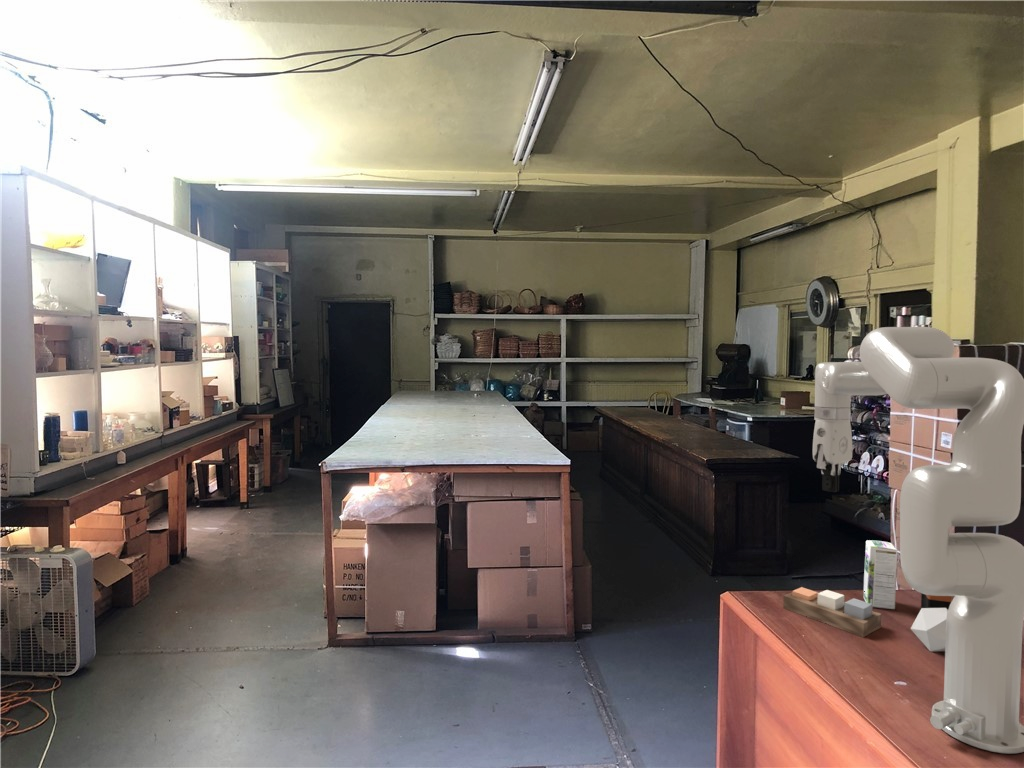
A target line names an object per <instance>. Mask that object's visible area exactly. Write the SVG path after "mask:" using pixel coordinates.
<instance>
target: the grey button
mask: <svg viewBox="0 0 1024 768" xmlns="http://www.w3.org/2000/svg"><path fill="white" fill-rule="evenodd" d="M844 602H845V605H844V613H845V614H847V615H850V616H853V617H856V618H859V619H862V620H866V619H867V618H869V617H871V616H872V611H873V608H874V607H873V604H870V603H867V602H866V601H865V600H861V599H857V598H854V597H853V598H851V599H849V600H847V601H844Z"/></svg>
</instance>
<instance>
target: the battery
mask: <svg viewBox="0 0 1024 768" xmlns="http://www.w3.org/2000/svg"><path fill="white" fill-rule="evenodd" d="M920 597H921V598H920V600H921V601H920V609H921V608H947V609H949V606H950V604H951V602H952V600H953V599H952V597H953V596H933V595H926V594H922V593H921V595H920Z"/></svg>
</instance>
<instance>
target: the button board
mask: <svg viewBox="0 0 1024 768" xmlns="http://www.w3.org/2000/svg"><path fill="white" fill-rule="evenodd" d="M817 599H818V598H816V599H814V600H812V601H807V600H804V599H801V598H798V597H795V596H792V592H789V593H787V594H784V595H783V600H782V601H783V609H785V610H788V611H790V612H793V613H795V614H798V615H802V616H804V617H806V616H807V617H806V618H809V619H812V620H814V619H815V621H817V620H818V621H817V622H820V621H821V623H823V624H825V623H827V624H826V625H828V624H829V626H831V627H834V628H837V629H840V630H842V631H845V632H848V633H850V634H853V635H856V636H858V637H861V638H865V637H866V636H869V635H870V634H871V633H873V632H875V631H878V630H879V629H881V628H882V613H881V612H877V611H874V610H872V616H871V617H869V618H867V619H866V620H862V619H859V618H856V617H853V616H850V615H847V614H845V613H844V607H842V608H840V609H838V610H833V609H830V608H827V607H824V606H821V605H818V604H817ZM845 602H846V601H844V605H845Z"/></svg>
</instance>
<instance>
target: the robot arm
mask: <svg viewBox="0 0 1024 768" xmlns="http://www.w3.org/2000/svg"><path fill="white" fill-rule="evenodd" d="M954 355H955V344H954V341H953V339H952V338H951V336H950V335H948V333H946V332H944V331H943V330H941V329H938V328H934V327H931V326H885V327H878V328H875V329H873V330H871V331H870V332H868V333H867V334H866V335H865V337H864V338H863V340H862V341H861V343H860V348H859V359H860V361H838V362H837V361H836V362H835V361H827V362H826V361H825V362H820V363H819V362H818V364H816V366H815V374H814V375H815V376H814V416H813V417H814V419H813V420H815V423H814V429H813V437H812V438H813V439H812V459H813V460H814V462H816V468H817V469H820V472H821V476H822V478H821V488H822V489H821V490H822V491H825V492H830V493H837V492H839V491H840V475H841V468H842V467H843V465H845V463H847V462H849V461H851V460H852V458H853V436H852V435H853V434H852V425H851V403H852V402H851V397H852V396H885V395H888V396H889V397H890V398H891V399H892V400H893V401H894V402H895V403H897V404H898V405H900V406H902V407H904V408H908V409H913V410H951V409H952V410H953V409H967V410H970V411H969V412H968V413H967V414H966V415H965V416H964V417H963V418H962V420H961V421H960V422H959V424H958V426H957V427H956V429H955V431H954V434H953V437H952V456H951V457H952V458H951V462H950V464H942V465H941V464H930V465H929V464H928V465H921V466H918V467H915V468H914V469H912V470H911V471H909V472H908V474H906V476H905V477H904V480H903V482H902V485H901V488H900V498H899V532H900V533H899V552H900V553H899V556H900V566H901V570H902V574H903V576H904V578H905V581H906V583H908V585H909V586H910V587H911V588H912V589H913V590H915V591H916V592H918V593H922V594H926V595H933V596H952V597H953V599H952V602H951V604H950V606H949V609H948V612H947V619H946V645H945V651H944V681H943V700H939V701H937V702H935V703H934V704H933V705H932V708H931V717H930V718H929V720H930V721H929V722H930V724H931V725H932V726H933V728H935V729H937V730H943V732H945V733H946V734H947V735H949V736H951V737H953V738H954V739H957V740H958V741H960V742H962V743H964V744H967V745H969V746H972V747H975V748H977V749H981V750H985V751H988V752H993V753H999V754H1020V753H1023V752H1024V725H1023V723H1021V722H1020V700H1021V676H1022V674H1021V673H1022V672H1021V671H1022V651H1023V649H1022V648H1023V634H1024V632H1023V630H1024V629H1023V627H1024V545H1023V544H1021V543H1020V542H1018V541H1017V540H1016V539H1014V538H1012V537H1009V536H1007V535H1006V536H1005V535H1002V534H997V533H991V532H956V533H955V532H953V533H951V532H950V531H951V527H997V526H1005V525H1008V524H1011V523H1013V522H1014V521H1015V520H1016V519H1017V518H1018V517H1019V514H1020V511H1021V503H1022V502H1021V500H1022V499H1021V498H1022V435H1023V429H1024V377H1023V375H1022V373H1020V372H1019V370H1018V369H1017V368H1016V367H1015V366H1013V365H1012V364H1010V363H1008V362H1006V361H1002V360H1000V359H999V360H998V359H995V358H988V357H987V358H986V357H959V356H958V357H953V356H954Z"/></svg>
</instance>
